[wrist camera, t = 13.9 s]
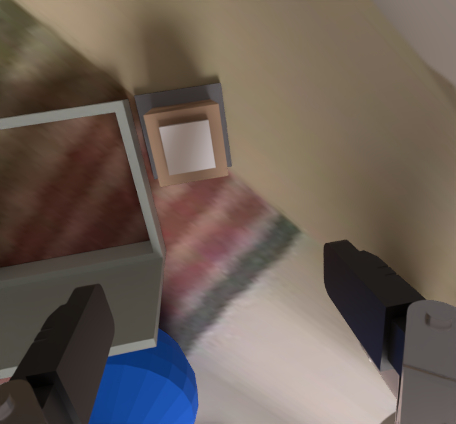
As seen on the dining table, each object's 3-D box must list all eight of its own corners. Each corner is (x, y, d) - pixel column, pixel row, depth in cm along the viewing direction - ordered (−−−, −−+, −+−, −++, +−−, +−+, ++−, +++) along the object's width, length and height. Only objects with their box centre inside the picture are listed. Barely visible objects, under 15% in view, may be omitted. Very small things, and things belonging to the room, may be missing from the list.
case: (128, 98, 28) (83, 111, 16) (166, 250, 35) (156, 347, 22) (-93, 131, 27) (-339, 175, 14) (-10, 283, 34) (-128, 406, 21)
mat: (220, 82, 29) (220, 82, 28) (231, 164, 32) (231, 166, 32) (135, 95, 28) (134, 95, 28) (154, 177, 32) (154, 179, 31)
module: (210, 99, 29) (219, 104, 22) (219, 156, 31) (229, 177, 24) (152, 108, 28) (142, 116, 22) (165, 165, 31) (159, 189, 24)
